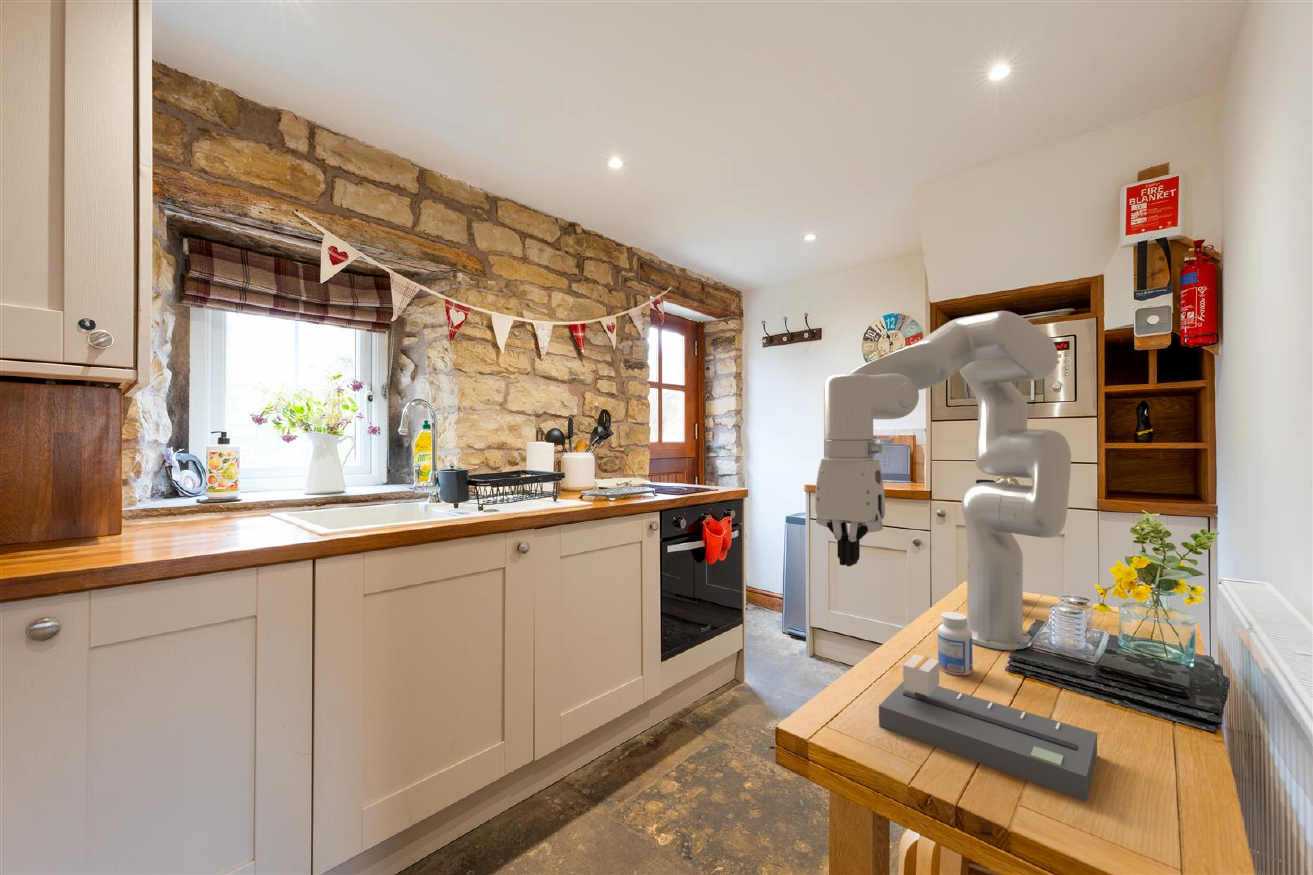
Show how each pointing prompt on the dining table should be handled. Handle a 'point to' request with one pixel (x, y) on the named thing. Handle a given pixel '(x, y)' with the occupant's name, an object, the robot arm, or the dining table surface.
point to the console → (996, 737)
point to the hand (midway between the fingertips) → (848, 563)
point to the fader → (921, 675)
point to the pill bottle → (955, 644)
